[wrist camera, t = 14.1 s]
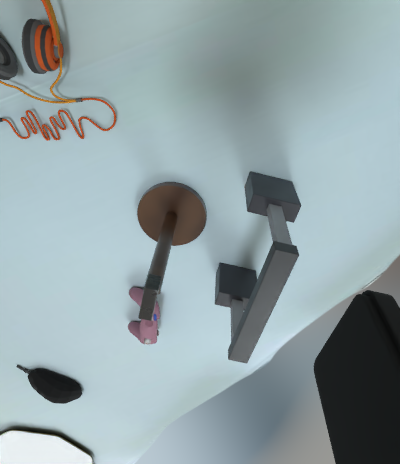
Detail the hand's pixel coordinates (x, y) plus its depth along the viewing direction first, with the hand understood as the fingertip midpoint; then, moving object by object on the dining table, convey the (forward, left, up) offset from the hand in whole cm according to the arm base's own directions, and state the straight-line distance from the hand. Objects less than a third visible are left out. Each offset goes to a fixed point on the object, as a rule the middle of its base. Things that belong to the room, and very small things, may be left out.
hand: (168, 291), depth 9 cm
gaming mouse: (+19, +67, -38) cm, 79 cm away
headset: (-11, +20, -38) cm, 44 cm away
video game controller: (+2, +40, -38) cm, 55 cm away
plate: (+21, +102, -38) cm, 111 cm away
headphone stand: (+1, +20, -38) cm, 43 cm away
